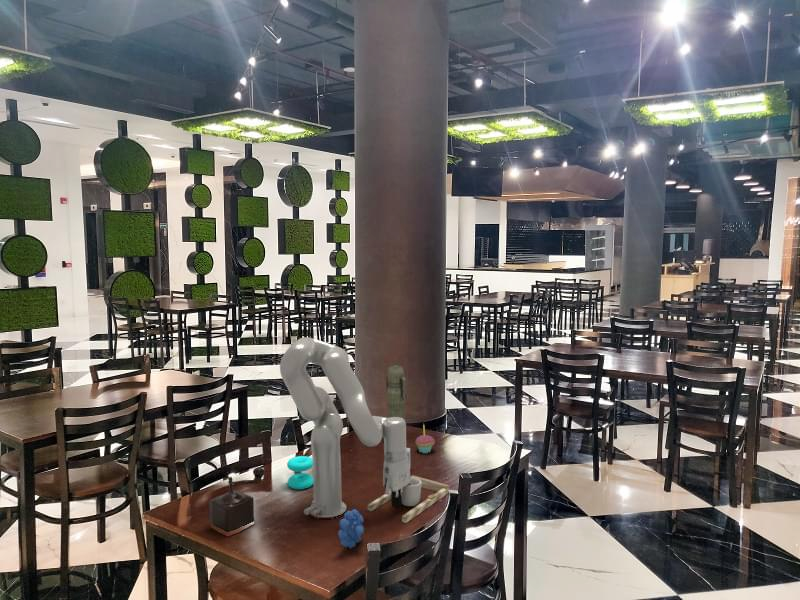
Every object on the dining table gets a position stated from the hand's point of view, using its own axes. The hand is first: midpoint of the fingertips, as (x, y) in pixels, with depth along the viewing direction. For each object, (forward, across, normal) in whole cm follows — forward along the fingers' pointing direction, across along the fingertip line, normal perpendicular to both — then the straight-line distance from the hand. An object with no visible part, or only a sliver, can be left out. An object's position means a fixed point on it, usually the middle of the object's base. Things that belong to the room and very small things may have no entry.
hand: (396, 506), depth 194 cm
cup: (+2, +6, 0) cm, 6 cm away
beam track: (+2, +8, +3) cm, 9 cm away
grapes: (+2, -27, -4) cm, 27 cm away
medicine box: (+2, +29, +20) cm, 36 cm away
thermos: (+2, +58, +44) cm, 72 cm away
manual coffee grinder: (+1, -37, +37) cm, 52 cm away
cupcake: (+2, +52, +24) cm, 57 cm away
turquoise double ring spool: (+1, -4, +42) cm, 43 cm away
